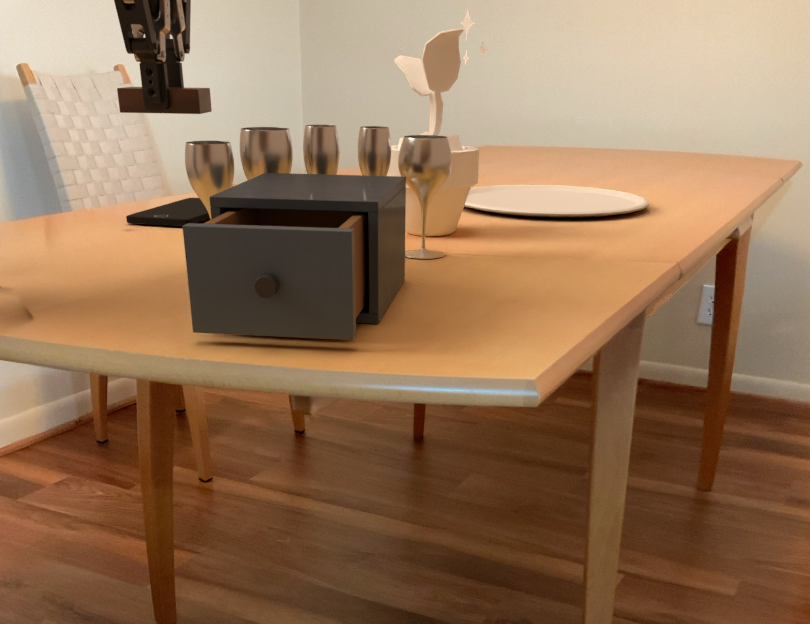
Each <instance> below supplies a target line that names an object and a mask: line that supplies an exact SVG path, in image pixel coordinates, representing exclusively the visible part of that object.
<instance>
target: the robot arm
mask: <svg viewBox="0 0 810 624" xmlns="http://www.w3.org/2000/svg"><path fill="white" fill-rule="evenodd" d="M113 2H114V6H115V10H116V14H117V19H118V24H119V26H120V32H121V35H122V39H123V43H124V47H125V50H126V51H125V52H126V53H127V54H128V55H133V56H134V59H135V61H136V62H137V63H139V72H140V73H139V74H140V81H141V87H142V91H143V100H144V106H145V107H146V108H147V109H148V110H167V109H169V107H170V97H169V87H182V88H185V84H184V83H185V81H184V73H183V62H184V61H185V56H186V54H187V55H189V54H190V52H191V7H192V6H191V5H192V0H113ZM171 37H172V38H171Z"/></svg>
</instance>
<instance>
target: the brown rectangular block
mask: <svg viewBox="0 0 810 624" xmlns="http://www.w3.org/2000/svg"><path fill="white" fill-rule="evenodd" d="M116 93H117V101H118V107H119V113H121V114H123V113H124V114H169V115H170V114H172V115H173V114H175V115H176V114H177V115H178V114H179V115H181V114H182V115H201V114H207V113H212V112H213V109H212V100H211V89H210V87H184V88H182V87H169V97H170V107H169V109H167V110H148V109H147V108H146V107H145V106H144V100H143V91H142V86H125V87H117V89H116Z"/></svg>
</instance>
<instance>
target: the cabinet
mask: <svg viewBox="0 0 810 624" xmlns="http://www.w3.org/2000/svg"><path fill="white" fill-rule="evenodd" d="M235 185H236V186H233V187H231V188H229V189H227V190H224V191H222V192H220V193H217V194H215V195H213V196H210V207H211V208H210V209H211V220H212V219H214V218H216V217H218V216H220V215H222V214H224V213H226V212H228V211H230V210H232V209H234V208H254V209H286V210H317V211H349V212H369V213H368V235H369V300H368V302H367V303H366V305H365V306H364V307H363V309H362V310H361V312H360V313H359V315H358V316H357V317H356V324H369V325H370V324H371V325H379V323H380V322H381V321H382V319H383V317H384V315H385V314H386V312H387V310H388V309H389V307H390V306H391V304H392V302H393V300H394V299H395V297H396V295H397V294H398V292H399V291H400V289H401V287H402V286H403V284H404V282H405V281H406V257H405V252H406V231H405V213H406V177H400V176H363V175H362V174H360V175H359V174H358V175H357V174H356V175H355V174H337V175H326V174H307V173H290V174H289V173H264V174H261V175H259V176H257V177H254V178H252V179H250V180H247V179H246V180H244V181H243V182H240V183H239V184H235Z"/></svg>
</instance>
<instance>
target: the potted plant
mask: <svg viewBox="0 0 810 624" xmlns="http://www.w3.org/2000/svg"><path fill="white" fill-rule="evenodd" d="M459 24H461V25H462V27H458V28H452V29H446V30H440V31H438V32H437V33H436V34H435V35H434V36H433V37H431V38H430V39H429V40H428V41H426V42H425V43H424V46H423V50H422V55H421V57H420V58H419V57H414V56H408V55H403V54H400V55H398V56H397V57H396V58H394V59H393V62H394V64H395V65H396V66H397V67H398V68H399V70H401V72H403V74H404V77H405V78H406V80H407V82H408V84H409V87H410V89H411V90H412V91H414V92H415V93H416V94H418V95H419V96H420V97H427V96H428V97H429V124H428V125H429V126H428V131H427V130H425V131H423V132H421V133H419V134H417V135H438V136H446V137H447V138H448V141H449V145H450V149H451V153H452V169H451V172H450V175H449V177H448V178H447V180H446V181H445V182H444V183H443V185H442V186H441V187H440V188H439V189H438V190H437V191H436V192H435V193H434V195H433V196H432V198H431V200H430V202H429V205H428V209H427V215H426V228H425V237H443V236H449V235H450V234H452V233H453V232H454V231H456V230H457V228H458V225H459V222H460V220H461V217H462V213H463V211H464V208H465V207H464V205H465V202H466V199H467V196H468V193H469V190H470V188H472V187H474V186H476V185H477V184H479V170H480V169H479V167H480V148H479V147H476V146H472V145H471V146H470V145H462V143H461V141H460V136H459V135H458V134H457V135H456V134H440V132H441V128H442V123H443V110H444V101H443V97H442V93H444V92H448V91H450V89H451V88H452V87H453V85H454V84H455V83H456V81H457V80H458V77H459V73H460V69H461V64H462V60H463V61H464V67H465V68H466V66H467V62H468V61H469V60H470V59H471V58H470V57H469V56H468V50H467V49H466V50H465V54H464V56H462V60H461V53H460V47H459V46H460V36H461V35H462V34H463V32H464V36H465V41H468V40H467V39H468V35H469V31H470V28H471V27H472V26H473V25H475V24H476V23H475V22H474V21H472V18H471V16H470V9H469V6H467V9H466V14H465V17H464V19H463V20H462V21H460V22H459ZM487 50H489V49H488V48H486V47H485V43H484V42H482V43H481V46H480V47H479V48H478V51H479V52H480V57H483V56H484V53H485V51H487ZM403 138H404V136H402V137H400V138H399V140H398V144H391V161H390V167H389V170H388V174H387V176H400V177H402V176H401V175H400V172H399V168H398V156H399V151H400V147H401V144H402V141H403ZM405 232H407V233H408V234H409V235H414V236H419V237H422V213H421V207H420V203H419V200H418V198H417V196H416V195H415V193H414V192H413V191H412V189H411V188H410V187H409V186H408V185H407V184H406V213H405Z"/></svg>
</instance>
